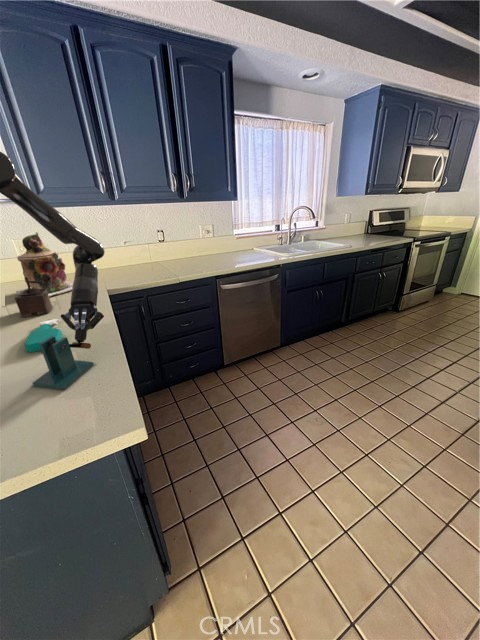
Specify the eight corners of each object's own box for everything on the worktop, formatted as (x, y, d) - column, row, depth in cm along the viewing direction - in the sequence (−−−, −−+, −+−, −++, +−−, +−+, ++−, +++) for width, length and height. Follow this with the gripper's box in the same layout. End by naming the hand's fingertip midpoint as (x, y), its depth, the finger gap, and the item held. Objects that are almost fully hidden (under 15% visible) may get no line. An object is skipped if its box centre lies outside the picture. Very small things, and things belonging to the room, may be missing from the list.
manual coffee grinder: (20, 318, 117) (5, 278, 109) (27, 309, 126) (13, 272, 119) (61, 312, 123) (49, 274, 115) (64, 304, 132) (53, 268, 124)
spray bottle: (24, 354, 89) (34, 327, 109) (61, 346, 94) (65, 321, 114) (21, 346, 88) (32, 320, 108) (59, 338, 93) (63, 315, 113)
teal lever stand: (65, 362, 85) (54, 329, 80) (93, 365, 83) (84, 331, 78) (33, 386, 74) (18, 350, 69) (65, 389, 73) (51, 353, 68)
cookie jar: (14, 294, 147) (-9, 234, 133) (58, 282, 167) (42, 229, 153) (41, 300, 137) (19, 236, 123) (84, 287, 157) (69, 231, 144)
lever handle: (75, 348, 86) (76, 341, 86) (90, 349, 85) (91, 342, 85) (41, 349, 73) (42, 341, 74) (59, 351, 73) (60, 342, 73)
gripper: (58, 288, 85) (51, 340, 79) (101, 286, 87) (97, 336, 81) (69, 298, 92) (64, 346, 86) (109, 296, 94) (106, 343, 88)
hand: (80, 341), depth 84 cm, fingers closed
